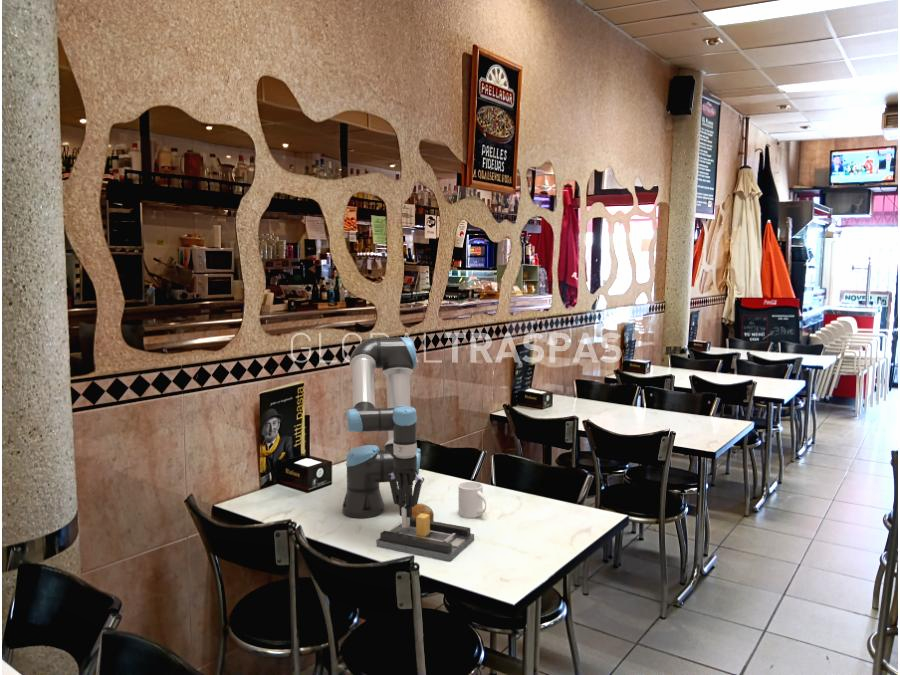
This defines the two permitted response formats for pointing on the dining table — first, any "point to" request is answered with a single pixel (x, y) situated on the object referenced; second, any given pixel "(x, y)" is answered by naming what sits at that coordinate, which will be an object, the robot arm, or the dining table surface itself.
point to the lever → (423, 525)
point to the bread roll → (422, 511)
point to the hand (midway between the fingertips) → (405, 526)
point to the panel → (424, 551)
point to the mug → (471, 499)
